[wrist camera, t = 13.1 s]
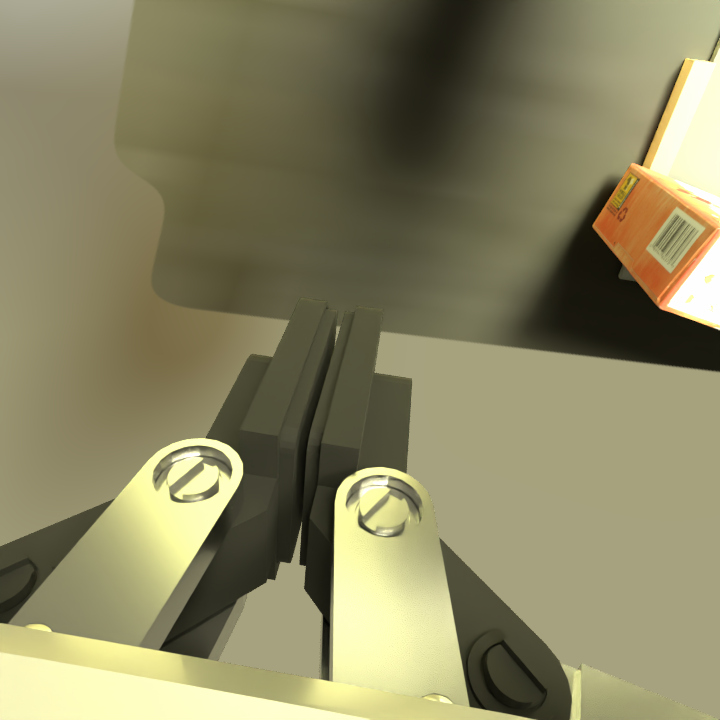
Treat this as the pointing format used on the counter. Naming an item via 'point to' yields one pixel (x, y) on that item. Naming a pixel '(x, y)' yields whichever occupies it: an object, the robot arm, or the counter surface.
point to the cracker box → (667, 241)
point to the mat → (690, 131)
